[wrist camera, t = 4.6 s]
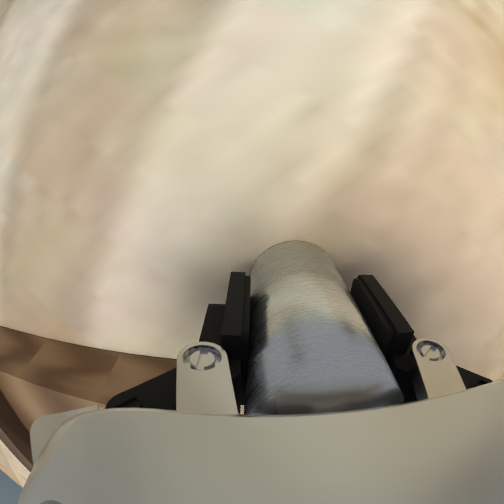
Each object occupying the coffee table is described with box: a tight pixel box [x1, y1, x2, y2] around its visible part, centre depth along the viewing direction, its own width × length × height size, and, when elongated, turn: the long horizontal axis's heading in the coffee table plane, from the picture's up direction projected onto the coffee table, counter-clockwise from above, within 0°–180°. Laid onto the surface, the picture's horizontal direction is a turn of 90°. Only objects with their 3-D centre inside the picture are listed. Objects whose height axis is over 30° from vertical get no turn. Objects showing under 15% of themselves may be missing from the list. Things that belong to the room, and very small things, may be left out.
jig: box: [0, 326, 177, 472], centre depth 15 cm, size 16×14×6 cm
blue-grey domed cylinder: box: [244, 241, 405, 415], centre depth 10 cm, size 4×4×8 cm
